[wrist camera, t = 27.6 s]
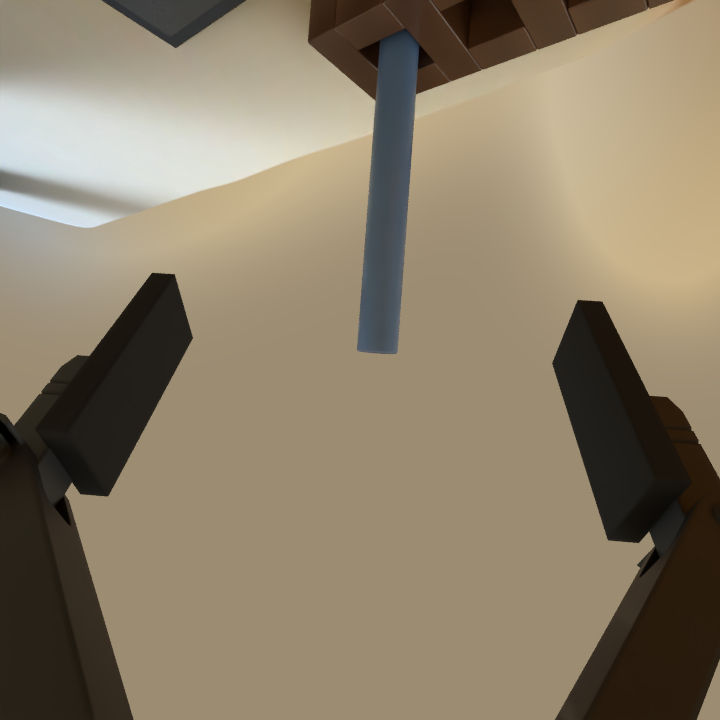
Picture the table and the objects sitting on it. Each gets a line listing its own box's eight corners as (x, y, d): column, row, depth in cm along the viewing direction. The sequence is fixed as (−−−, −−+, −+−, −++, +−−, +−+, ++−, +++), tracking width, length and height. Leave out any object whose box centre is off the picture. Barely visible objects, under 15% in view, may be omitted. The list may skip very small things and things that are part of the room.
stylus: (397, 20, 26) (372, 353, 25) (375, -5, 24) (348, 350, 23) (429, 5, 24) (405, 354, 24) (409, -23, 23) (382, 350, 22)
